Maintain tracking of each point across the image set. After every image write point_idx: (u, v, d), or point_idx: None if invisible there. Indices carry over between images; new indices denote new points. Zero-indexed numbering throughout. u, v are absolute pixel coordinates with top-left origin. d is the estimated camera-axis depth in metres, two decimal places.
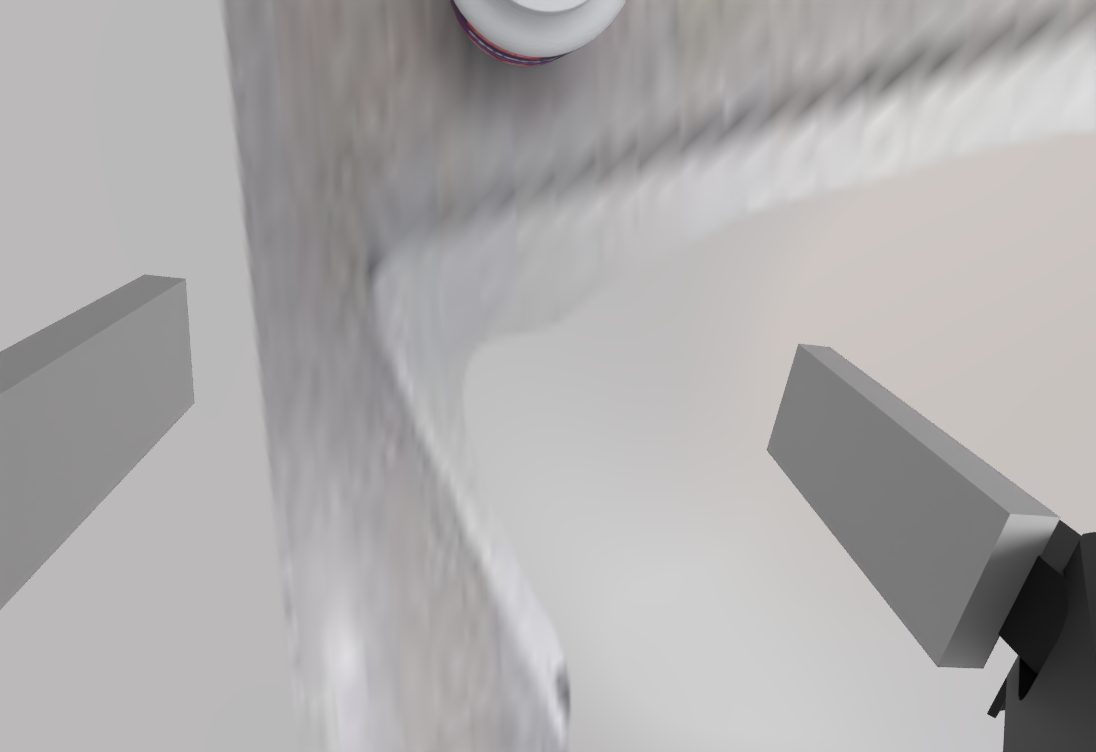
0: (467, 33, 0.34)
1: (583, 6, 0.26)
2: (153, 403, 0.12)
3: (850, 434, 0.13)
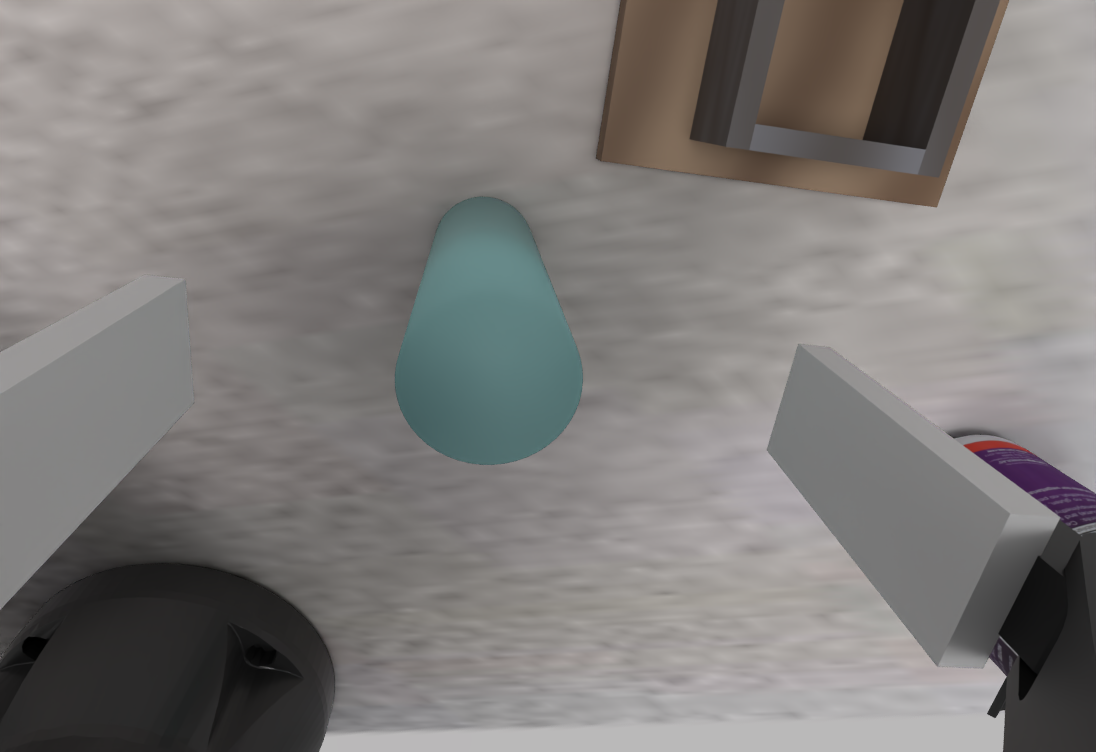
0: None
1: None
2: (153, 403, 0.12)
3: (850, 435, 0.13)
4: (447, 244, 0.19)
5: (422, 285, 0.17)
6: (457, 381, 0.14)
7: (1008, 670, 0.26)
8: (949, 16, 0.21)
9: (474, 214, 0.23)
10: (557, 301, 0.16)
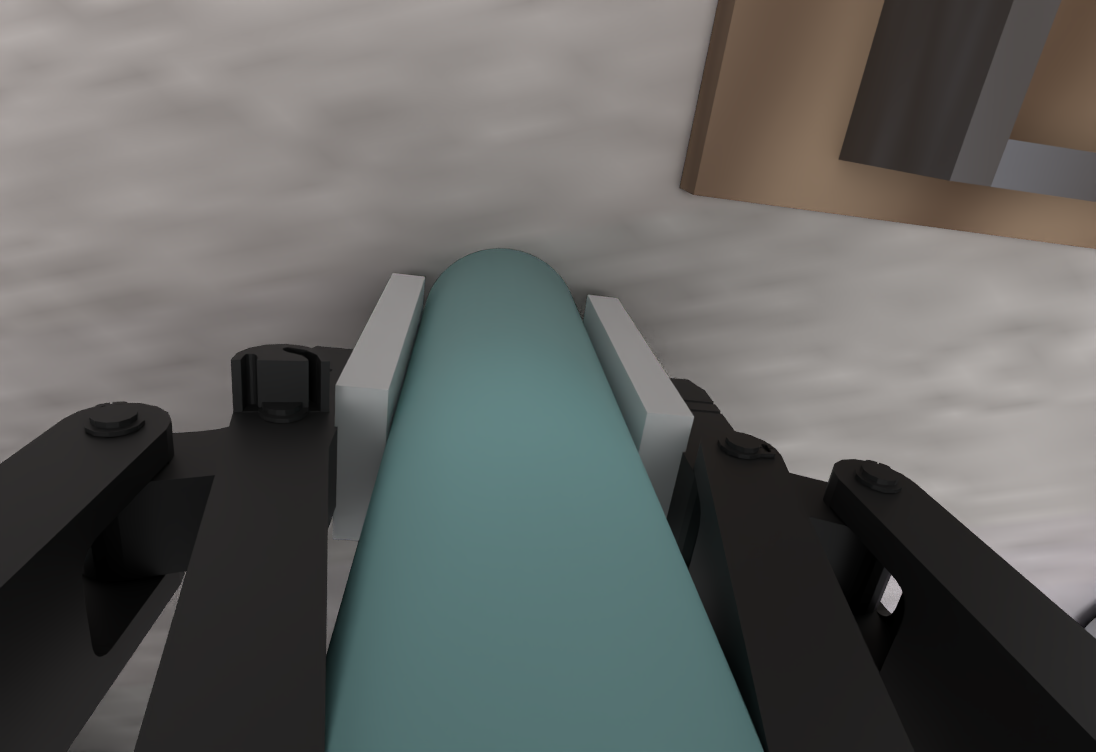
0: None
1: None
2: None
3: None
4: (435, 383, 0.10)
5: (372, 516, 0.08)
6: None
7: None
8: None
9: (487, 295, 0.13)
10: (693, 585, 0.07)
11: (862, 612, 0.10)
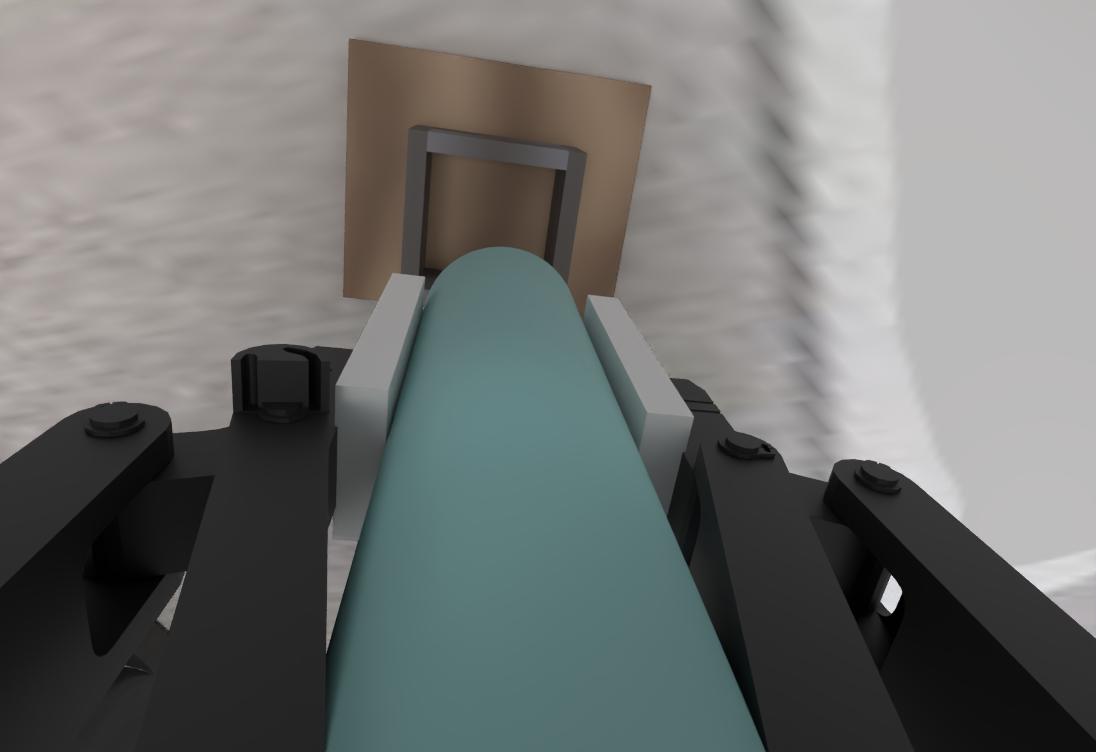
0: None
1: None
2: None
3: None
4: (435, 379, 0.10)
5: (374, 508, 0.08)
6: None
7: None
8: (557, 211, 0.31)
9: (487, 293, 0.13)
10: (689, 575, 0.07)
11: (862, 612, 0.10)
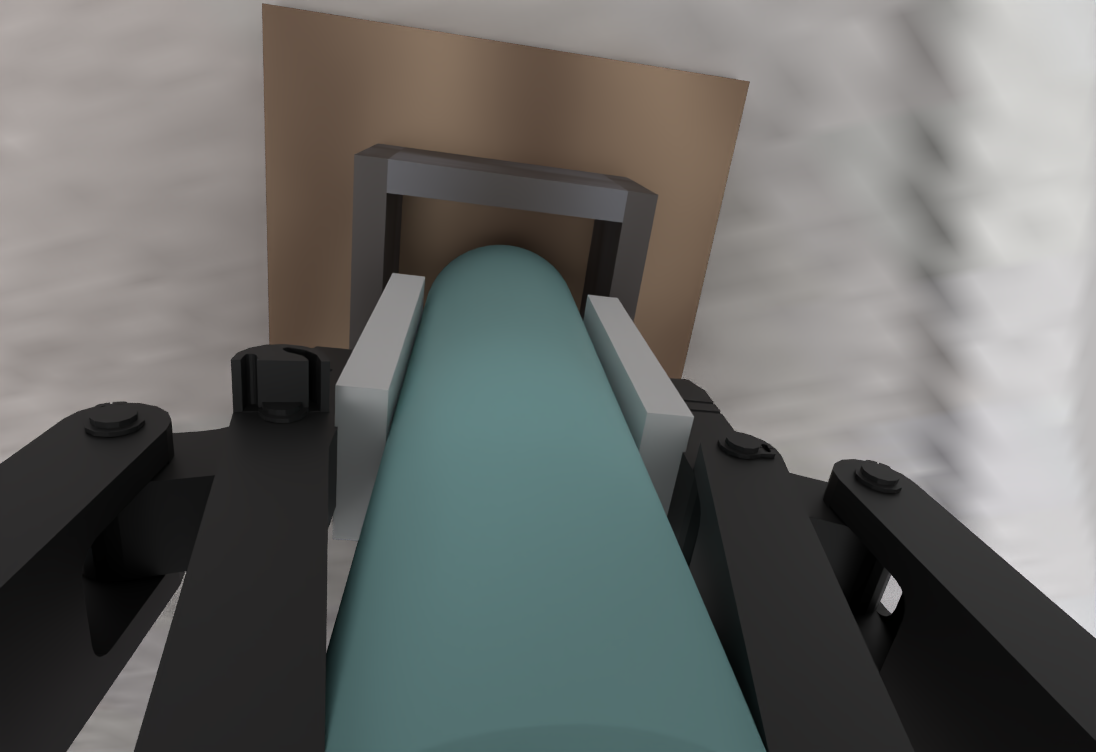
0: None
1: None
2: None
3: None
4: (436, 373, 0.10)
5: (376, 499, 0.08)
6: None
7: None
8: (603, 284, 0.19)
9: (487, 290, 0.13)
10: (685, 563, 0.07)
11: (862, 612, 0.10)
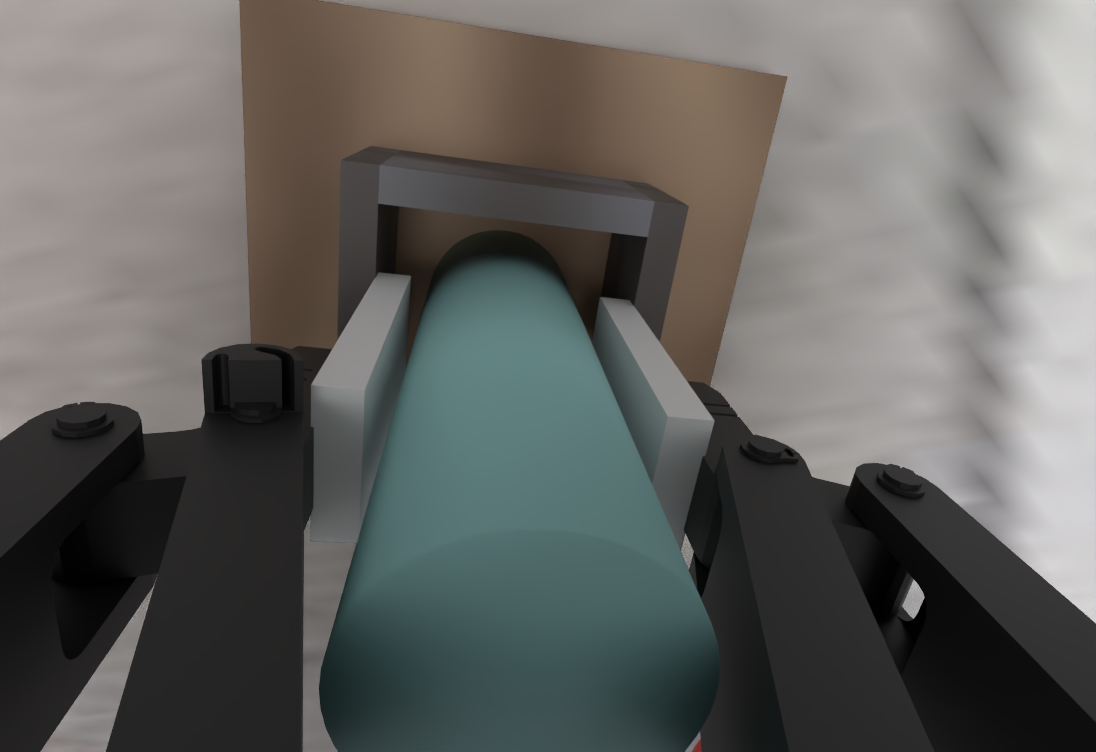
0: None
1: None
2: (397, 379, 0.15)
3: (614, 371, 0.14)
4: (443, 330, 0.12)
5: (396, 422, 0.10)
6: (455, 693, 0.07)
7: None
8: None
9: (486, 266, 0.15)
10: (643, 466, 0.09)
11: (883, 616, 0.10)
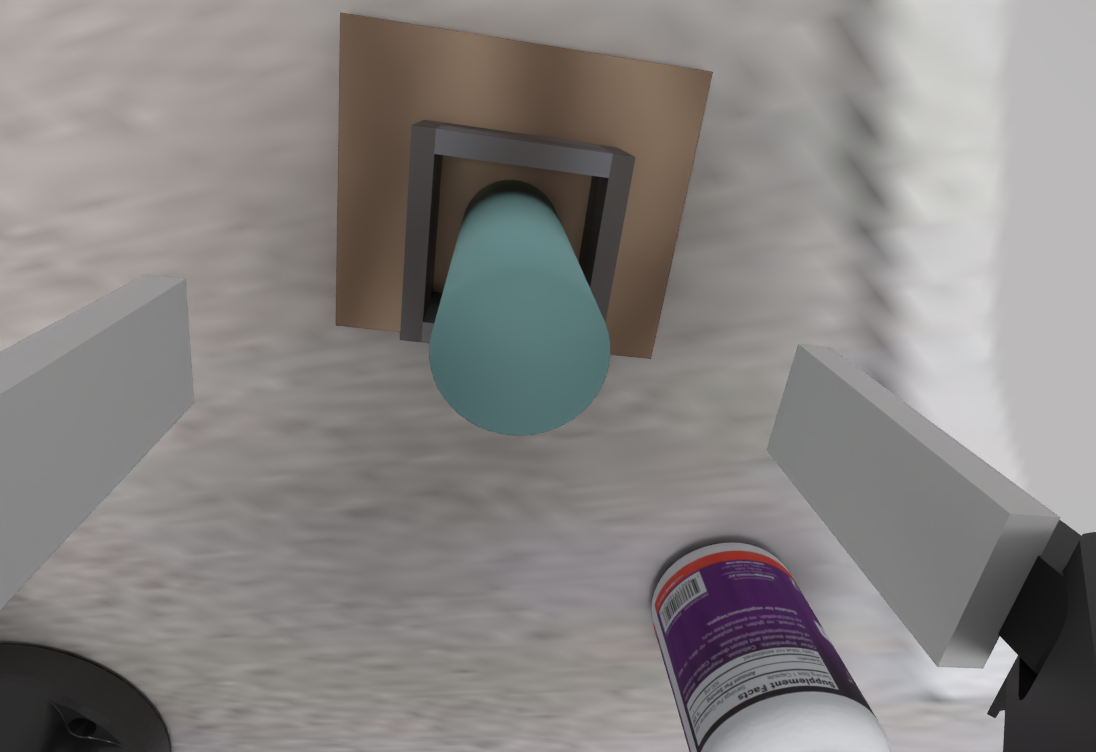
0: None
1: None
2: (153, 403, 0.12)
3: (850, 435, 0.13)
4: (477, 224, 0.20)
5: (454, 262, 0.18)
6: (489, 353, 0.15)
7: None
8: (595, 228, 0.25)
9: (503, 196, 0.23)
10: (585, 279, 0.17)
11: None
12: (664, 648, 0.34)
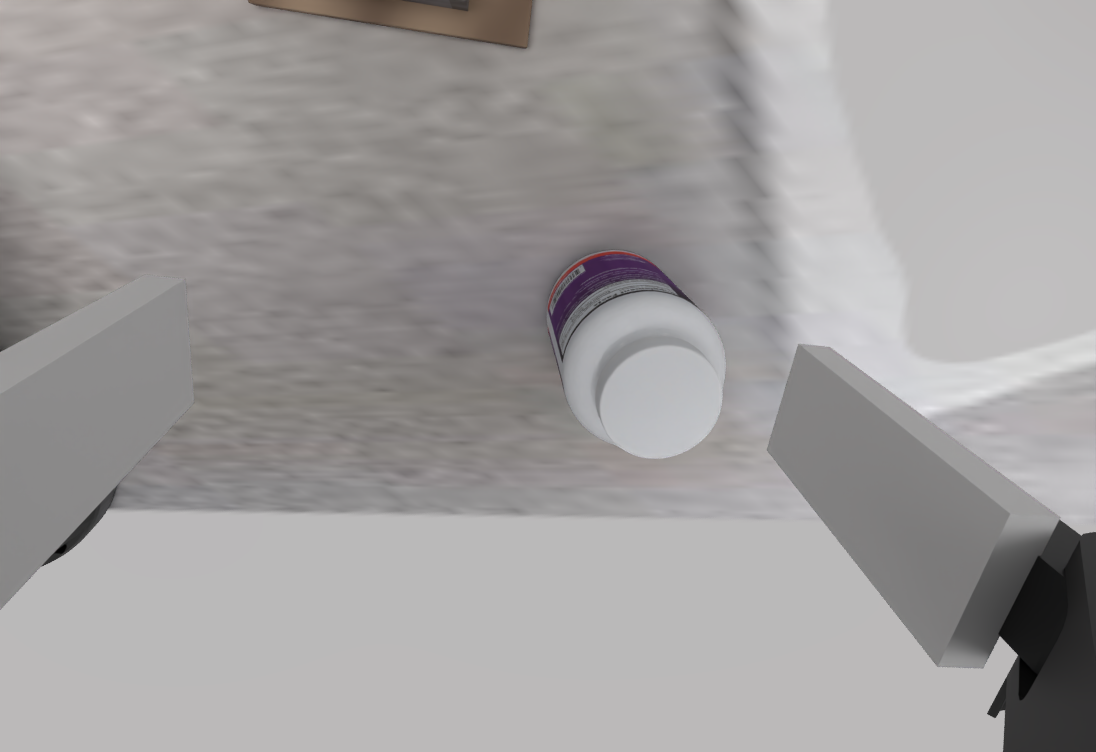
0: None
1: (701, 352, 0.31)
2: (153, 403, 0.12)
3: (850, 434, 0.13)
4: None
5: None
6: None
7: None
8: None
9: None
10: None
11: None
12: (551, 329, 0.38)
